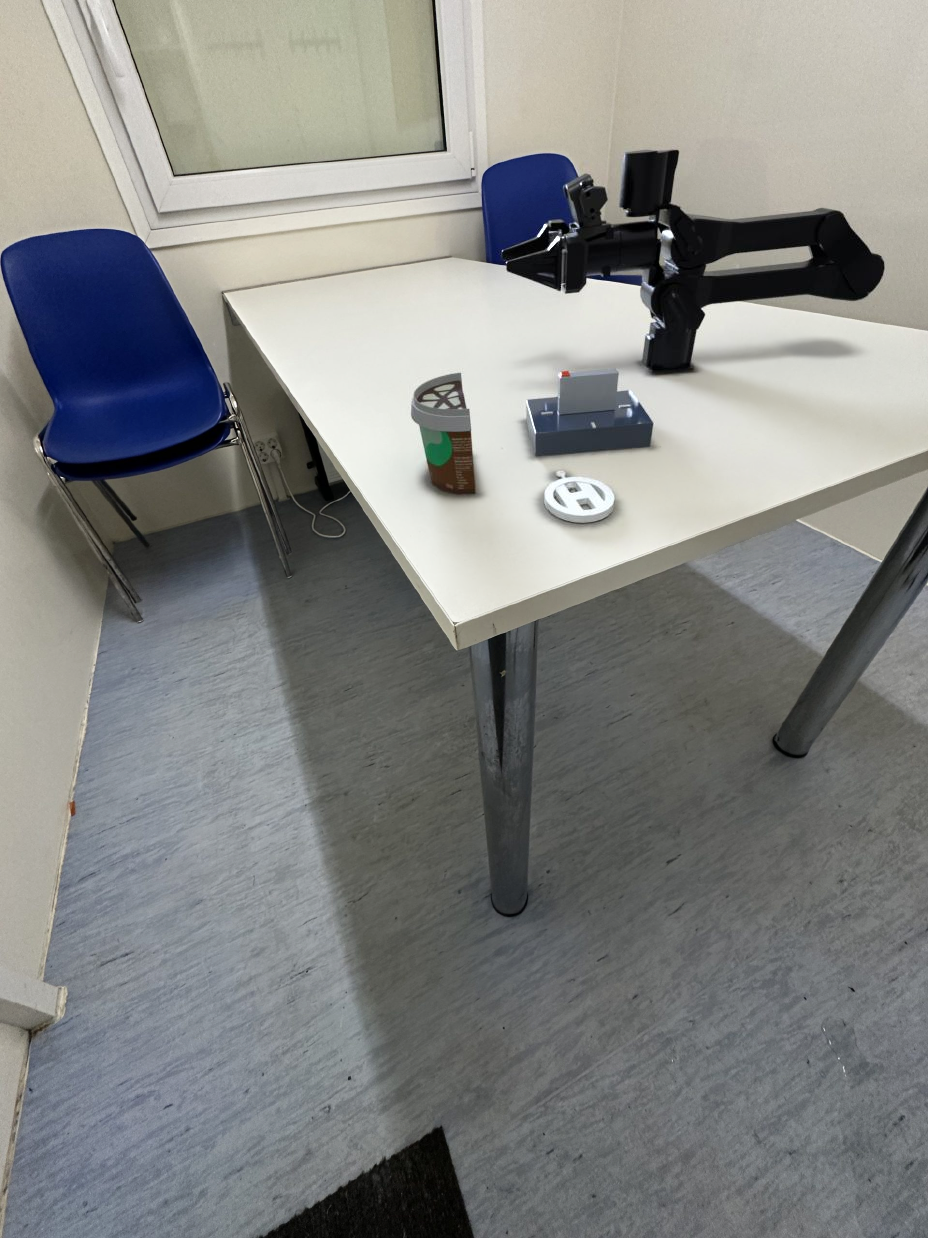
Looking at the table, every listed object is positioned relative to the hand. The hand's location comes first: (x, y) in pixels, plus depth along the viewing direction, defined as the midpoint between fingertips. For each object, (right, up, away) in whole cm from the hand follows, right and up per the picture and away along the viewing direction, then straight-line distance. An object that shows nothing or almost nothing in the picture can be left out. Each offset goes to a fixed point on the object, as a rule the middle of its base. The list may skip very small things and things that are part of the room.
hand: (503, 260), depth 76 cm
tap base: (+10, -26, -6) cm, 29 cm away
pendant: (+6, -37, -17) cm, 42 cm away
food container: (-8, -34, -11) cm, 37 cm away
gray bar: (+10, -24, -8) cm, 27 cm away
